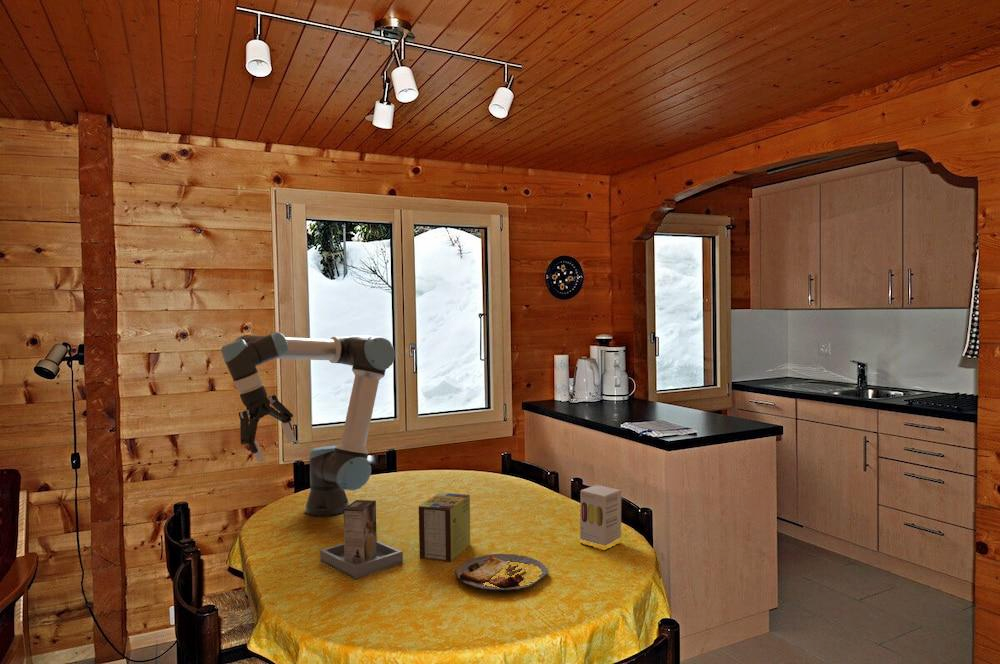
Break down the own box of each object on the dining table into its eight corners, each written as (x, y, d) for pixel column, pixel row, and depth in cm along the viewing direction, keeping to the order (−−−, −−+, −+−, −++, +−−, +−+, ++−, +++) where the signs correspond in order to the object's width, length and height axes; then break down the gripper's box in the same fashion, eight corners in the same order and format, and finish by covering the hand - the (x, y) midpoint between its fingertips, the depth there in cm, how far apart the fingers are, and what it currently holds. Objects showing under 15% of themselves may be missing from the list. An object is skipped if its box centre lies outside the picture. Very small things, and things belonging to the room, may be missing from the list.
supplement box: (579, 544, 204) (578, 489, 204) (596, 536, 211) (596, 483, 210) (605, 551, 198) (605, 495, 197) (622, 543, 205) (622, 489, 204)
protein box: (471, 544, 206) (470, 494, 205) (451, 562, 191) (450, 508, 190) (440, 540, 209) (439, 491, 208) (418, 558, 194) (417, 505, 194)
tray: (367, 547, 203) (367, 536, 203) (402, 563, 190) (402, 551, 190) (320, 562, 192) (320, 550, 192) (354, 580, 179) (354, 567, 179)
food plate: (514, 604, 163) (514, 590, 163) (438, 585, 176) (438, 571, 176) (560, 572, 184) (560, 559, 184) (490, 557, 197) (490, 545, 197)
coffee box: (357, 552, 196) (356, 499, 195) (377, 554, 195) (376, 500, 194) (343, 564, 187) (342, 508, 186) (365, 566, 186) (364, 509, 185)
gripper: (271, 376, 217) (296, 435, 221) (211, 407, 196) (239, 471, 200) (287, 372, 214) (312, 432, 217) (227, 403, 192) (256, 468, 196)
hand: (277, 451), depth 209 cm, fingers open, 13 cm apart
